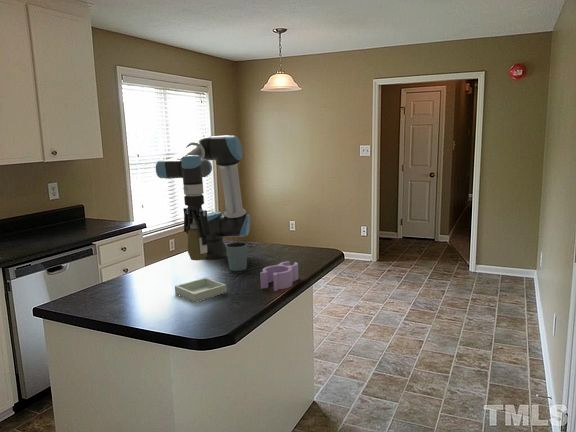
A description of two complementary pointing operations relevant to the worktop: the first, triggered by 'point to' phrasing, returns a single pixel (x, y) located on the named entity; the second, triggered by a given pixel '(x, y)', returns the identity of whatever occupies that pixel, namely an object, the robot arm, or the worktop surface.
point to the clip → (279, 275)
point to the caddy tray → (200, 289)
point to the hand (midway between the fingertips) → (197, 251)
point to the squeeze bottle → (194, 243)
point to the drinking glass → (237, 255)
